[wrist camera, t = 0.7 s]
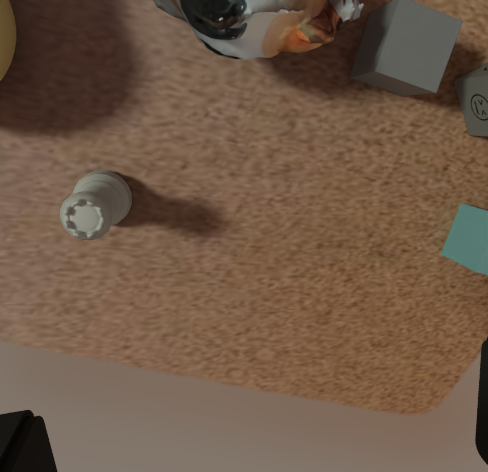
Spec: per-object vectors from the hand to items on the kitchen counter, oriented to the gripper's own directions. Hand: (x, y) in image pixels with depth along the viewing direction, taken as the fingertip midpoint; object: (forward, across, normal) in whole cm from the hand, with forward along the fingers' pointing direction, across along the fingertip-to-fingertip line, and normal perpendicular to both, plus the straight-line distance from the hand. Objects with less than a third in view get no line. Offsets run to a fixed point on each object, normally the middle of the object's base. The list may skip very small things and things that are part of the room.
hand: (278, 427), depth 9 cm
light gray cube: (+28, -16, -10) cm, 34 cm away
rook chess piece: (+28, +8, -1) cm, 29 cm away
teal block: (+28, -25, +7) cm, 38 cm away
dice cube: (+28, -25, -6) cm, 38 cm away
